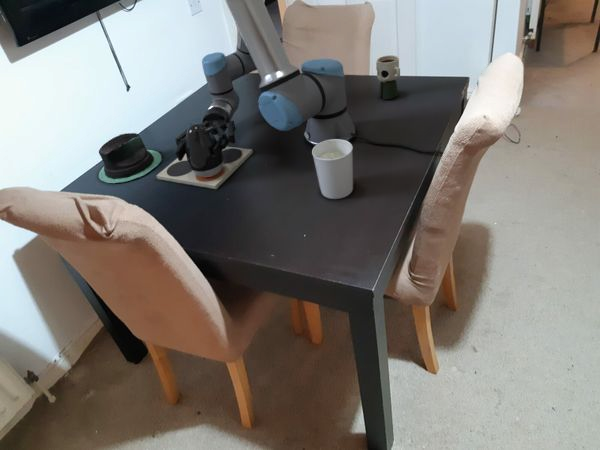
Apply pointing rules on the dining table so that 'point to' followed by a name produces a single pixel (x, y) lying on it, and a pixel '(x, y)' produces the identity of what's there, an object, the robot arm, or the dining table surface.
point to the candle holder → (334, 167)
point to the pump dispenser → (202, 151)
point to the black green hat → (126, 158)
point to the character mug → (388, 75)
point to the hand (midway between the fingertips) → (196, 155)
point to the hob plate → (185, 175)
